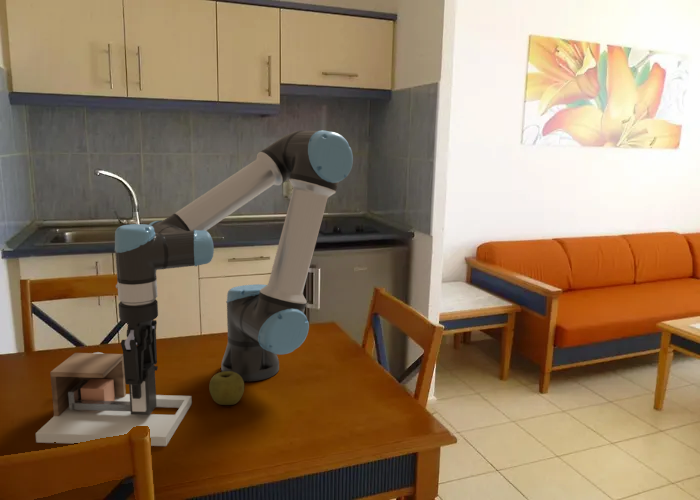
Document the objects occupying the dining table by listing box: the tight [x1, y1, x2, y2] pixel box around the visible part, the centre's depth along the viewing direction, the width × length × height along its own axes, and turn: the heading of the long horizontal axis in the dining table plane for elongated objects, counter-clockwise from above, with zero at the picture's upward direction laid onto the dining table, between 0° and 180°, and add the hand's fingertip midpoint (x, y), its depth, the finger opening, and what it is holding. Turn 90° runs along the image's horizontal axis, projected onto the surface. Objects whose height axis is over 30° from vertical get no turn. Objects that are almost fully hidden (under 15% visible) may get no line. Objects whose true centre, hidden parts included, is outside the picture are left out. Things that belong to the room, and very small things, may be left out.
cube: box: [81, 379, 115, 401], centre depth 123 cm, size 5×5×5 cm
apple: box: [208, 371, 245, 406], centre depth 129 cm, size 8×8×7 cm
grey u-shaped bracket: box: [68, 362, 157, 415], centre depth 120 cm, size 18×8×10 cm, turn 89°
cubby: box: [50, 352, 127, 417], centre depth 122 cm, size 11×10×10 cm
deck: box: [35, 393, 193, 447], centre depth 120 cm, size 26×18×2 cm
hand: (143, 405), depth 119 cm, fingers closed on grey u-shaped bracket, 4 cm apart
